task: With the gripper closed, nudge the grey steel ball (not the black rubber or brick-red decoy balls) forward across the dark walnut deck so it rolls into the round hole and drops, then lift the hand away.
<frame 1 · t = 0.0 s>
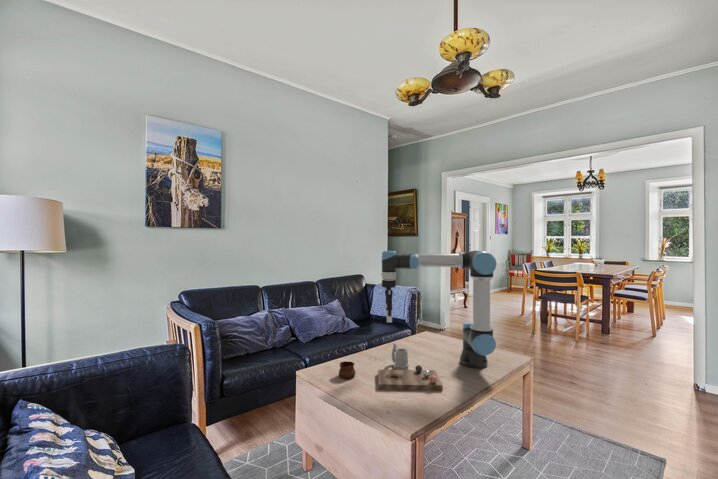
hand: (388, 319, 184), 28 cm above the table, fingers open, 13 cm apart
ceramic pot: (347, 377, 178), on the table
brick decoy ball: (433, 379, 164), point 4 cm above the table, touching deck
steel ball: (426, 373, 170), point 4 cm above the table, touching deck
mug: (399, 367, 191), on the table
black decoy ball: (418, 368, 177), point 4 cm above the table, touching deck
deck: (408, 382, 171), on the table
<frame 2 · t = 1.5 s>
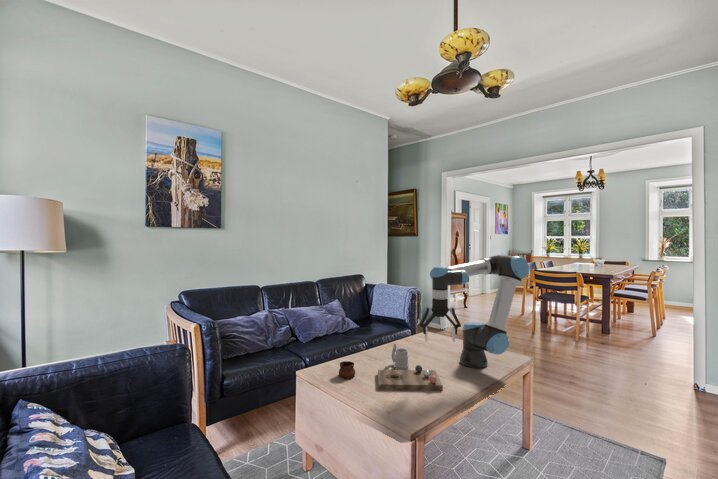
hand: (439, 340, 170), 21 cm above the table, fingers open, 13 cm apart
nothing on the table moved.
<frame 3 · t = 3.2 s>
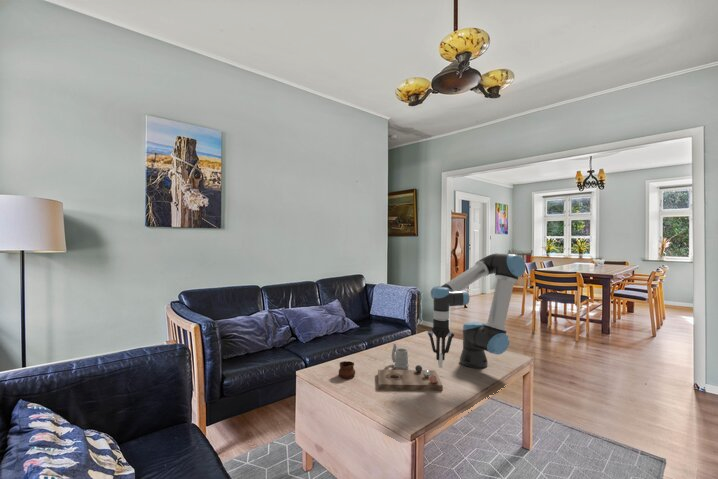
hand: (440, 366, 170), 8 cm above the table, fingers closed
nothing on the table moved.
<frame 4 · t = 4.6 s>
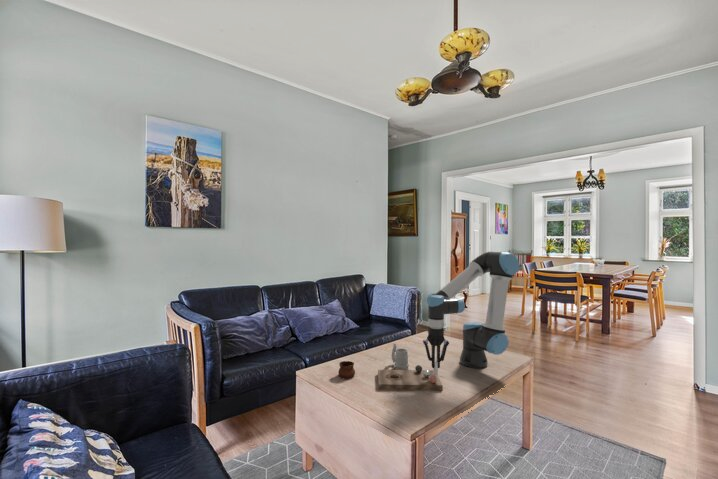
hand: (435, 374, 170), 4 cm above the table, fingers closed
nothing on the table moved.
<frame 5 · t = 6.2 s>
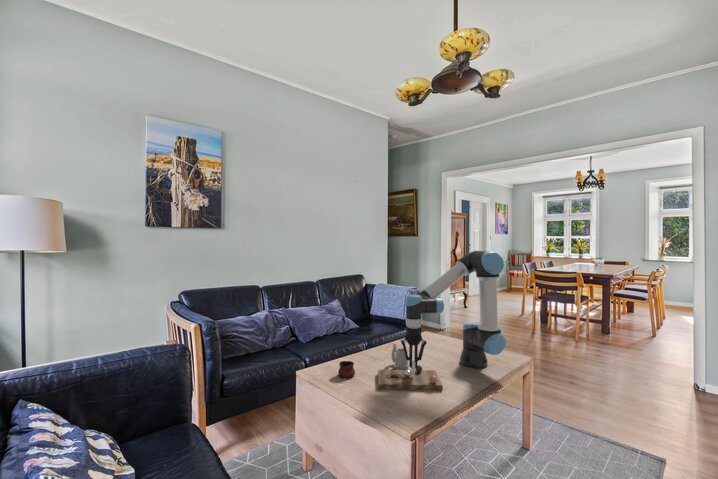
hand: (413, 373, 170), 4 cm above the table, fingers closed
steel ball: (407, 373, 170), point 4 cm above the table, tilted 50°, touching deck
everything else where it was.
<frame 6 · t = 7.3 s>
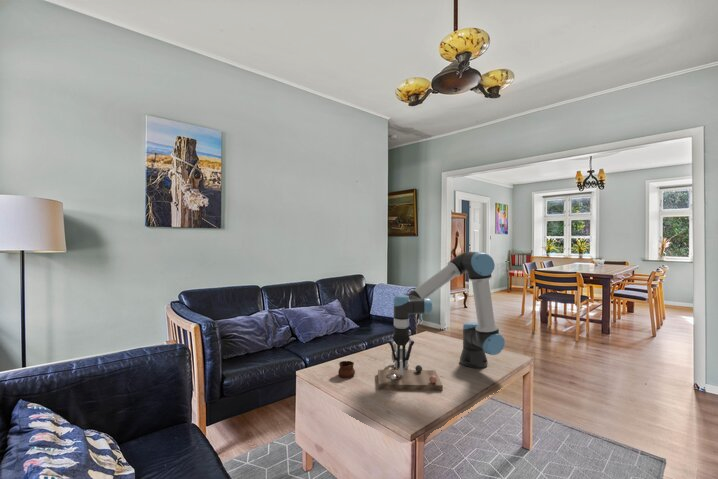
hand: (401, 373, 171), 4 cm above the table, fingers closed
steel ball: (393, 378, 171), point 2 cm above the table, tilted 141°
everything else where it was.
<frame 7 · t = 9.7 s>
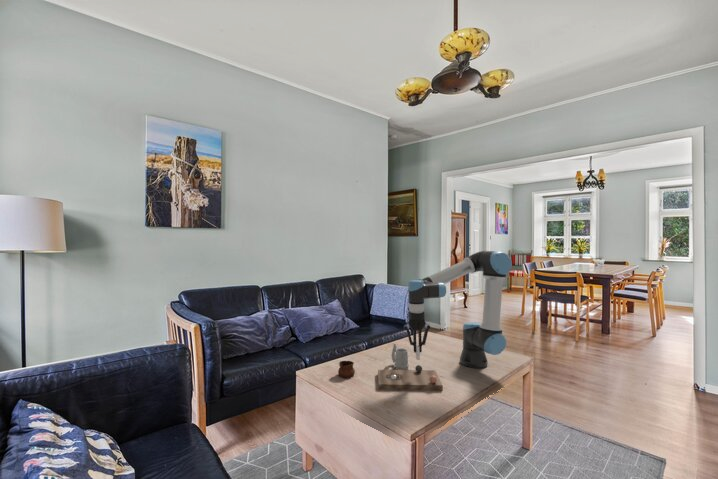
hand: (417, 358, 171), 12 cm above the table, fingers closed
steel ball: (393, 378, 171), point 2 cm above the table, tilted 148°
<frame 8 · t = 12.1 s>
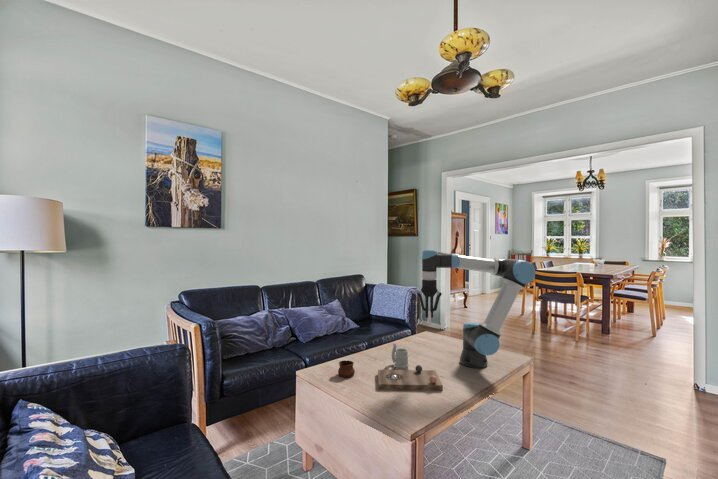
hand: (429, 323, 181), 26 cm above the table, fingers closed
steel ball: (394, 378, 171), point 2 cm above the table, tilted 155°
at the end: steel ball 0.1 cm from the target spot in the deck, point 1.7 cm above the deck's base; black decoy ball moved 0.1 cm from its start; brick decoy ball moved 0.1 cm from its start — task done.
